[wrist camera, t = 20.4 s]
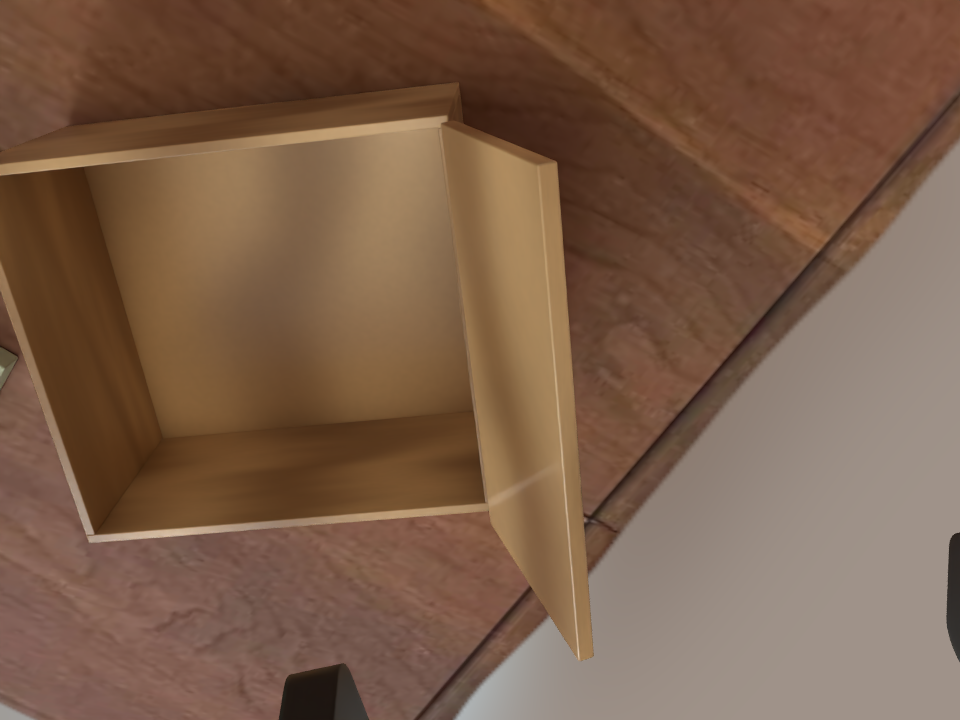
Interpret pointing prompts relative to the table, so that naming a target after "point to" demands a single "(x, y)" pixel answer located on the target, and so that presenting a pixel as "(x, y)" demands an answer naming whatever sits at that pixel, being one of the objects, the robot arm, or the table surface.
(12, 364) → the pale green flat board
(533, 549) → the flap
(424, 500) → the wooden box
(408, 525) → the table surface
